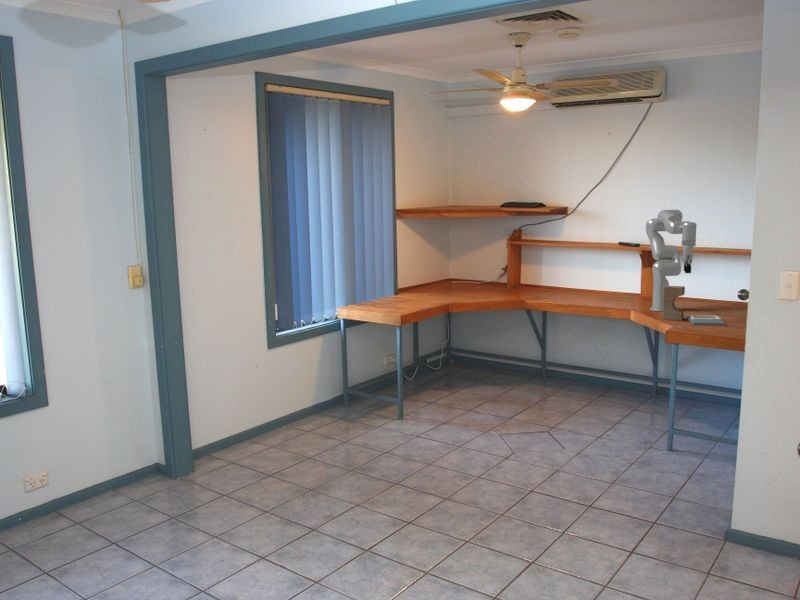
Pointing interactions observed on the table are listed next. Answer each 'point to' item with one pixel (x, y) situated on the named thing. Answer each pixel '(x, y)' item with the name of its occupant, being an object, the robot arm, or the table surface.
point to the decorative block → (672, 302)
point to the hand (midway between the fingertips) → (687, 272)
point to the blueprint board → (704, 320)
